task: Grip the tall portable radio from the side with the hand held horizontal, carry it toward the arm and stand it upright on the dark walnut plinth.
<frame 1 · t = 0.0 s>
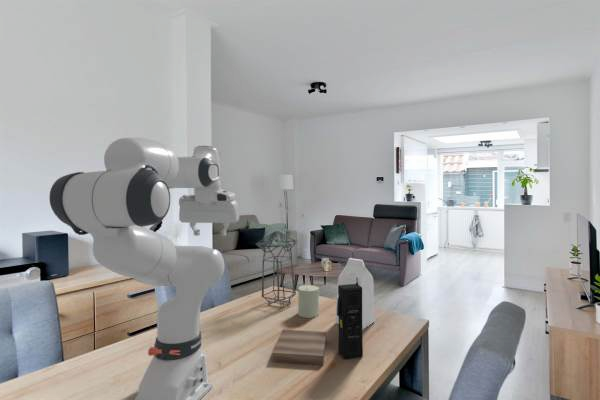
hand: (210, 235, 118), 39 cm above the table, tool pointing down, fingers open, 8 cm apart
can: (308, 314, 151), on the table
walnut plinth: (301, 350, 117), on the table
milk: (355, 322, 141), on the table
geometric lantern: (277, 304, 164), on the table
portable radio: (349, 355, 114), on the table
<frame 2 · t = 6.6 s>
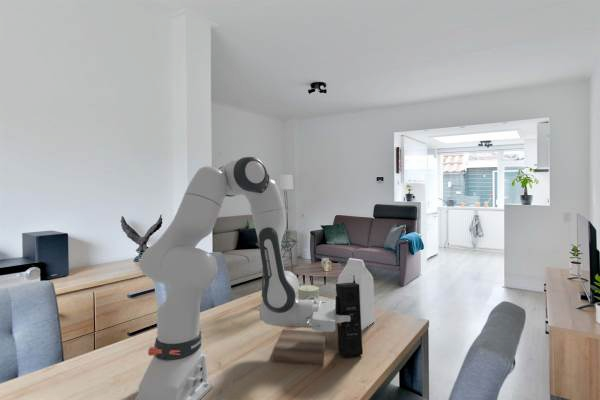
hand: (350, 315, 113), 13 cm above the table, tool horizontal, fingers open, 3 cm apart
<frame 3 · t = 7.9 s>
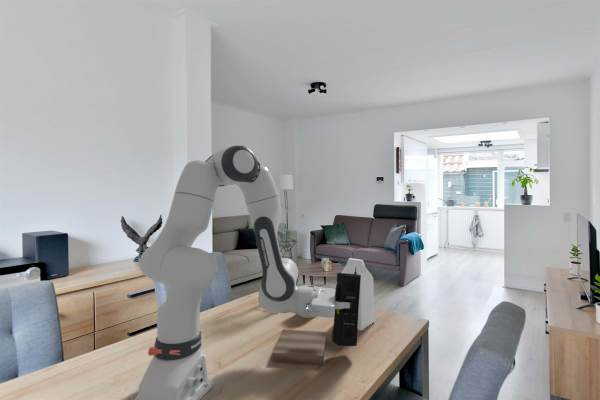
hand: (349, 303, 113), 17 cm above the table, tool horizontal, fingers closed on portable radio, 2 cm apart
portable radio: (342, 344, 113), point 4 cm above the table, touching gripper
everything else where it was.
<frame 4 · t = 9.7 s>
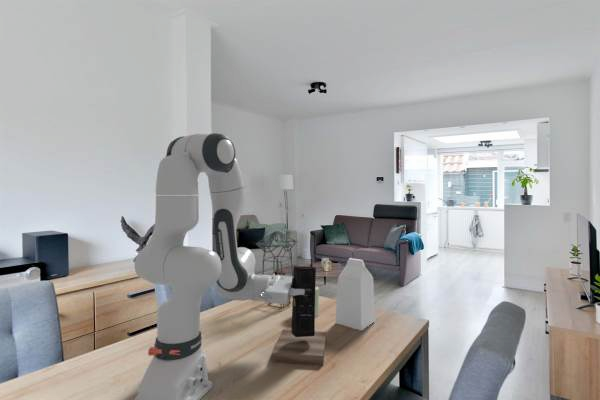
hand: (305, 290, 116), 21 cm above the table, tool horizontal, fingers closed on portable radio, 2 cm apart
portable radio: (301, 335, 116), point 5 cm above the table, touching gripper
everything else where it was.
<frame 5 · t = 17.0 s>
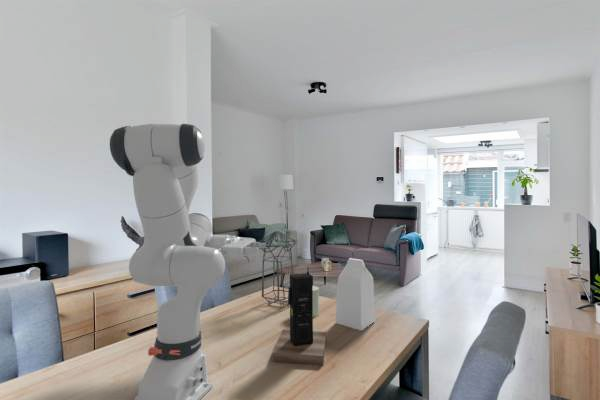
hand: (262, 248, 121), 34 cm above the table, tool horizontal, fingers open, 8 cm apart
portable radio: (300, 342, 116), point 3 cm above the table, touching walnut plinth
everything else where it was.
at the end: portable radio inside the target area on the walnut plinth (0.6 cm from its centre), point 2.8 cm above the walnut plinth's base; portable radio tilted 0°; the gripper is holding nothing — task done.
